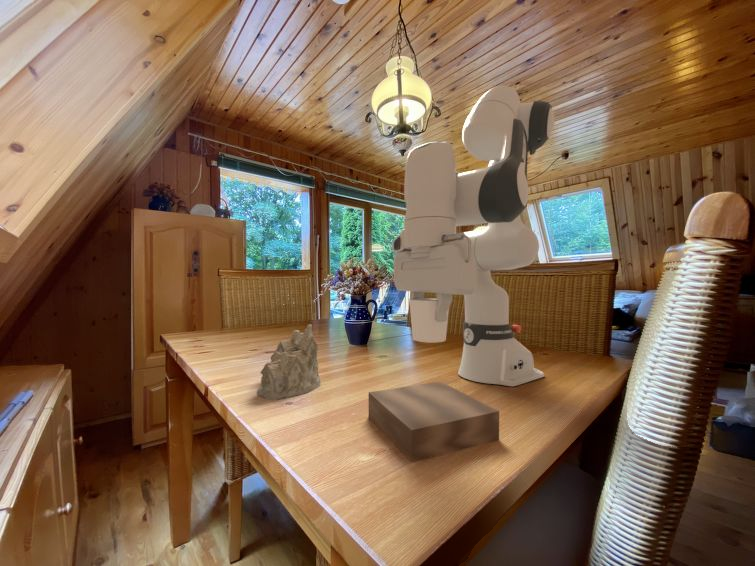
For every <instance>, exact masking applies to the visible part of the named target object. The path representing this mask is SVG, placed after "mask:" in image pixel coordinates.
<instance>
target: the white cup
mask: <svg viewBox="0 0 755 566" xmlns="http://www.w3.org/2000/svg"><path fill="white" fill-rule="evenodd" d="M437 304H438V300H436V297H423V298H414V299H410V298H409V310H410V311H409V312H410V313H409V314H410V322H411V335H412V340H413V341H415V342H420V343H428V344H429V343H431V344H433V343H443V342H446V340H447V333H448V332H447V331H448V320H449V310H450V308H449V309H448V311H447V321H446V322H438V321H436V320H435V311H436V308H437Z"/></svg>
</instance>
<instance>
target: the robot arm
mask: <svg viewBox="0 0 755 566" xmlns="http://www.w3.org/2000/svg"><path fill="white" fill-rule="evenodd" d="M554 125H555V114H554V110H553V106H552V105H551V104H550V102H548V101H545V100H544V101H543V100H534V101H533V102H521V99H520V95H519V93H518V92H517V91H516V90H515V89H514V88H513V87H510V86H509V85H497V86H494V87H492V88H490V89H488V91H486V92H485V93H484V94H483V95H482V96H481V97H480V98H479V100H478V101H477V102H476V103H475V105H474V106H473V108H472V109H471V111H470V113H469V114H468V116H467V118H466V119H465V122H464V125H463V127H462V132H461V134H462V135H461V138H462V143H463V146H464V148H465V150H466V151H467V152H468V153H469V154H470V155H471V157H474V158H475V159H477V160H480V161H484V162H488V165H487V166H485V167H481V168H477V169H473V170H469V171H464V172H461V173H460V171H458V170H457V169H456V160H455V154H454V152H455V151H454V148H453V145H452V143H450V142H447V141H443V140H442V141H440V140H439V141H431V142H427V143H423V144H420V145H418V146H415V147H414V148H412V150H410V151H409V153H408V155H407V159H406V164H405V170H404V187H403V189H404V192H403V193H404V194H403V195H404V196H403V198H404V202H405V205H406V206H405V207H406V208H405V209H406V212H405V215H404V220H403V229H402V230H401V232H400V233H399V234H398V236H397V237H395V239H394V240H393V241H392V243H391V244H392V245H391V249H392V252H393V253H395V254H394V257H393V282H394V283H393V284H394V286H395V289H396V290H397V291H399V292H400V291H401V292H409V297H410V298H409V299H414V298H425V297H424V296H425V295H424V294H425V293H428V294H436V295H435V296H436V297H435V298H436V300H438V304H437V308H436V311H435V320H436V321H438V322H446V321H447V311H448V309H449V310H450V306H451V304H452V303H453V295H455V296H456V295H457V296H458V295H459V296H460V295H462V296H463V298H464V299H463V301H464V321H463V322H462V335H463V336H462V337H463V347H462V354H461V360H460V364H459V365H460V366H459V369H458V371H457V373H458V375H459V376H460V377H462V378H463V379H466V380H469V381H472V382H475V383H481V384H489V385H491V384H493V385H502V386H507V387H516V386H520V385H522V384H526V383H530V382H531V381H534V380H539V379H542V378H543V377H545V373H544V372H543V371H541V370H540V369H538V368H535V365H534V355H533V354H532V352H531V350H529V349H528V348H527V347H525V346H524V345H523V344H522V343H521V342H520V341H518V340H517V339H516V338H515V335H514V333H518V334H519V333H521V331H522V326H521V325H519V324H512V325H511V324H510V323H509V322H510V321H509V320H510V318H509V317H510V316H509V315H510V313H509V312H510V311H509V310H510V296H509V294H508V292H507V291H506V290H505V289H504V288H503V287H501V286H500V285H498V284H496V283H495V281H494V280H493V277H492V273H491V271H511V270H515V269H520V268H525V267H528V266H530V265H531V264H533V262H534V261H535V260H536V258H537V257H538V254H539V249H540V243H539V239H538V236H537V235H536V233H535V231H533V229H532V228H530V227H529V226H527V225H525V223H524V222H523V221H522V218H521V214H522V213H523V212H524V211H525V209H526V208H527V207H528V200H529V185H528V184H529V183H528V179H527V178H528V157H529V155H530V156H533V155H535V153H536V151H537V150H538V149H540V148H542V147H543V146H544V145H545V144H546V143H547V141H548V140H549V138H550V136H551V134H552V131H554V130H553V129H554ZM528 154H529V155H528ZM481 224H482V225H483V224H487V226H486V227H485V228H483V229H479V230H478V229H477V230H469V231H462V232H457V227H462V226H463V227H465V226H474V225H481Z"/></svg>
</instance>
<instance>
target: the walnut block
mask: <svg viewBox="0 0 755 566" xmlns="http://www.w3.org/2000/svg"><path fill="white" fill-rule="evenodd" d="M368 418H369V419H370V420H371V421H372V422H373V423H374V425H375V426H377V428H378V429H379V430H380V431H381V432H382V434H384V435H385V437H386V438H387V439H389V441H390V442H391V443H393V445H394V446H395V447H396V448H397V449H398V450H399V451H400V453H402V455H404V456H405V458H406V459H407V460H408V461H409V462H410V463H411V464H412V463H416V462H419V461H420V462H421V461H424V460H428V459H431V458H436V457H439V456H442V455H446V454H450V453H455V452H458V451H462V450H465V449H469V448H470V449H471V448H473V447H477V446H481V445H486V444H489V443H493V442H496V441H497V442H498V441H499V440H500V411H499V410H498V409H495V408H493V407H491V406H490V405H488V404H486V403H484V402H482V401H480V400H478V399H476V398H474V397H473V396H470V395H468V394H466V393H464V392H462V391H460V390H459V389H456V388H454V387H452V386H451V385H448V384H446V383H444V382H443V381H441V380H440V381H435V382H428V383H423V384H415V385H408V386H402V387H395V388H390V389H389V388H388V389H382V390H376V391H368Z"/></svg>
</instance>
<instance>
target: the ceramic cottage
mask: <svg viewBox="0 0 755 566" xmlns="http://www.w3.org/2000/svg"><path fill="white" fill-rule="evenodd" d="M312 329H313V325H312V324H311V323H310V324H307V325H306V328H305V329H304V332H300V330H298V329H295V330H294V329H293V331H292V333H291V339H287V340H281V341H279V343H278V344H277V347H276V349H275V351H274V353H273V354H272V355H271V356H270V362H269V361H268V362H267V363H265V365H264V366H263V368H262V369H261V371H260V374H261V378H260V379H261V380H260V387H259V388H258V389H257V392H256V394H257V395H258V396H259V395H260V396H259V397H264V398H265V399H267V400H272V401H273V400H274V401H275V400H281V399H284V398H287V399H288V398H291V397H294V396H295V397H296V396H297V397H298V396H302V395H304V394H307V393H309V392H311V391H313V390H315V389H317V388H319V387H321V386H322V384H321V378H320V374H319V361H318V359H317V356H318V352H317V351H319V345H318V344H317V342H316V340H315V338H314V334H313V330H312Z"/></svg>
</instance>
